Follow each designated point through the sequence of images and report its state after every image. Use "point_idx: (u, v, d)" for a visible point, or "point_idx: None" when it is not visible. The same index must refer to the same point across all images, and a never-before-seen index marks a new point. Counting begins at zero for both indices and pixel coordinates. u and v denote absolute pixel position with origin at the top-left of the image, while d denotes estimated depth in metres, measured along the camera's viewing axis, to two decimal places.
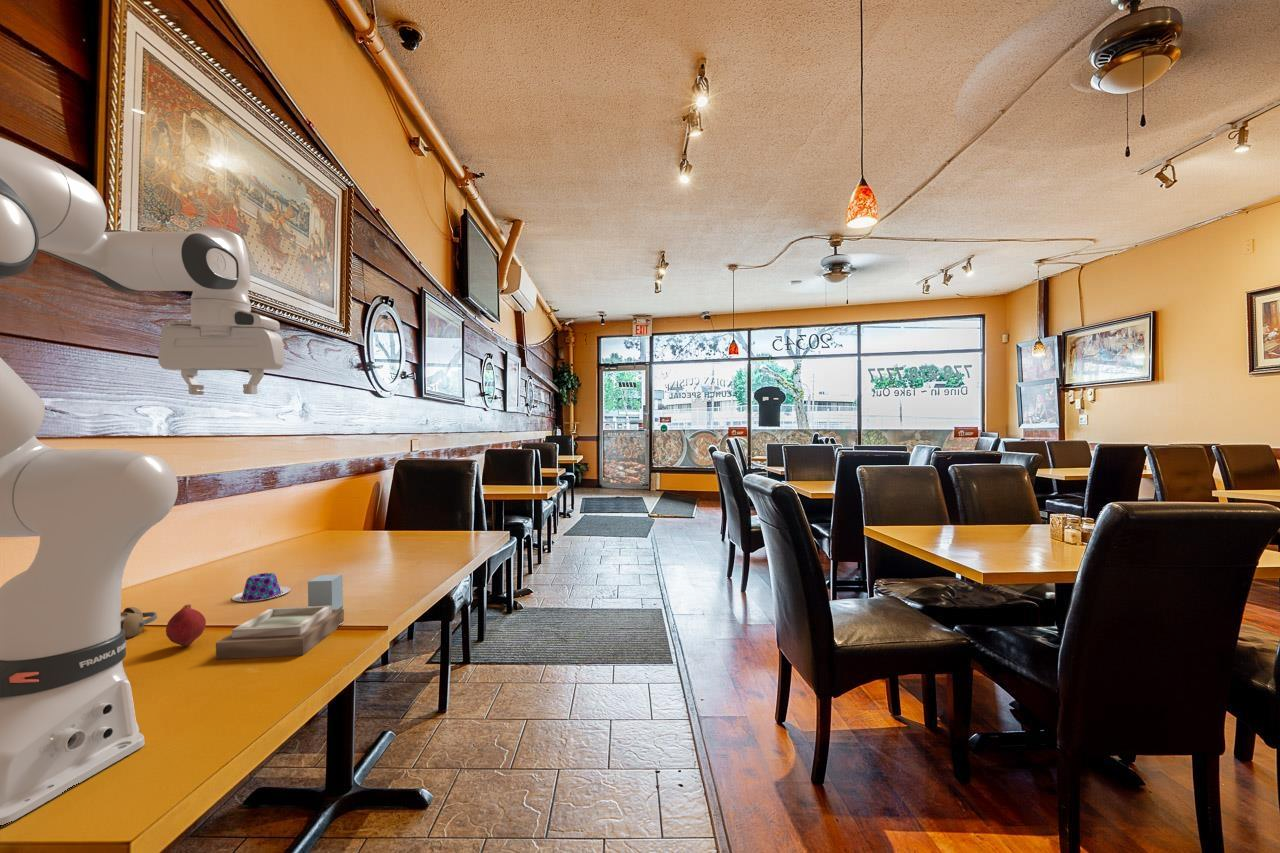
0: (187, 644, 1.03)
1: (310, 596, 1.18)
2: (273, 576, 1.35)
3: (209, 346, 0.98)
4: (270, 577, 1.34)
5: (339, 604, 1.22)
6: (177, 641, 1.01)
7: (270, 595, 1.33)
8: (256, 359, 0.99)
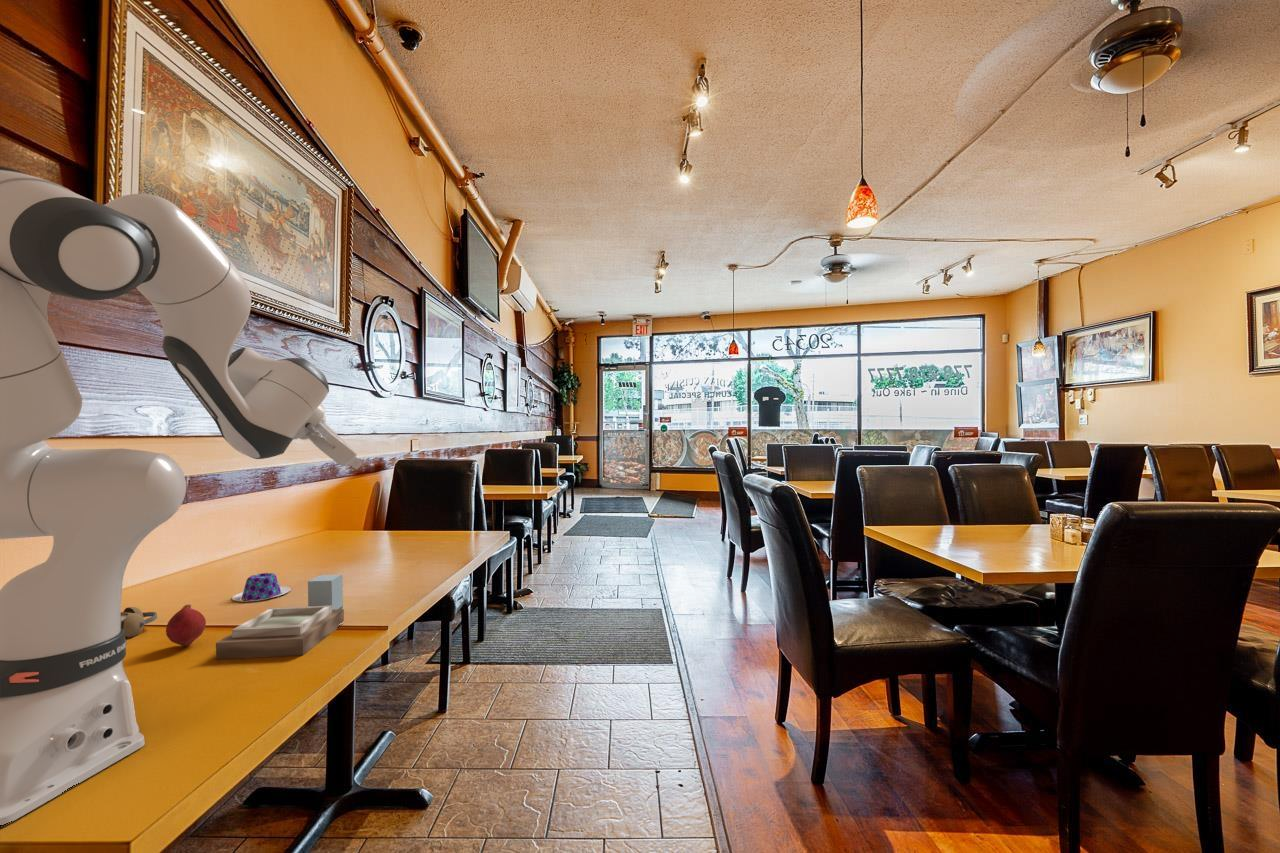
0: (187, 644, 1.03)
1: (310, 596, 1.18)
2: (273, 576, 1.35)
3: (327, 429, 1.09)
4: (270, 577, 1.34)
5: (339, 604, 1.22)
6: (177, 641, 1.01)
7: (269, 595, 1.33)
8: None
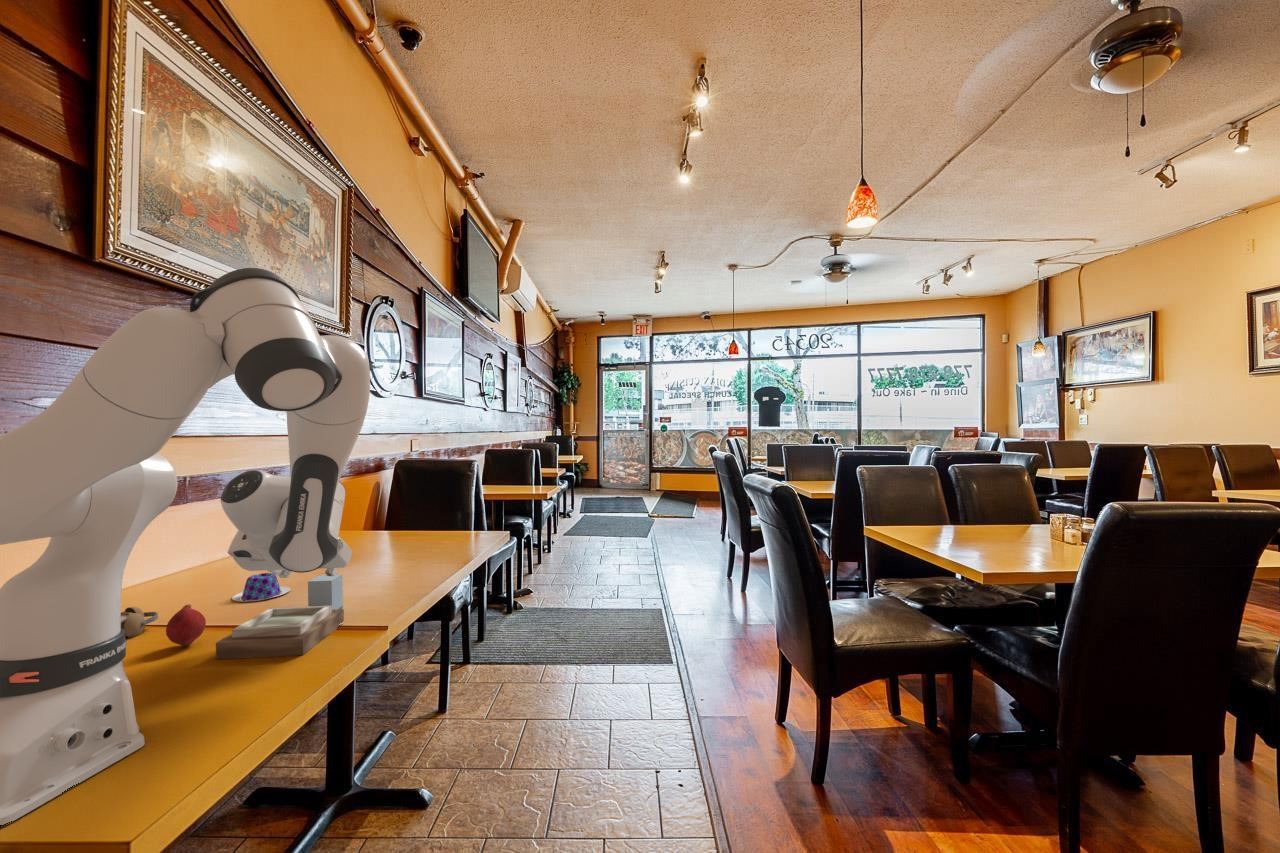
0: (187, 644, 1.03)
1: (310, 596, 1.18)
2: (272, 576, 1.35)
3: None
4: (269, 577, 1.34)
5: (339, 604, 1.22)
6: (177, 641, 1.01)
7: (268, 595, 1.33)
8: None
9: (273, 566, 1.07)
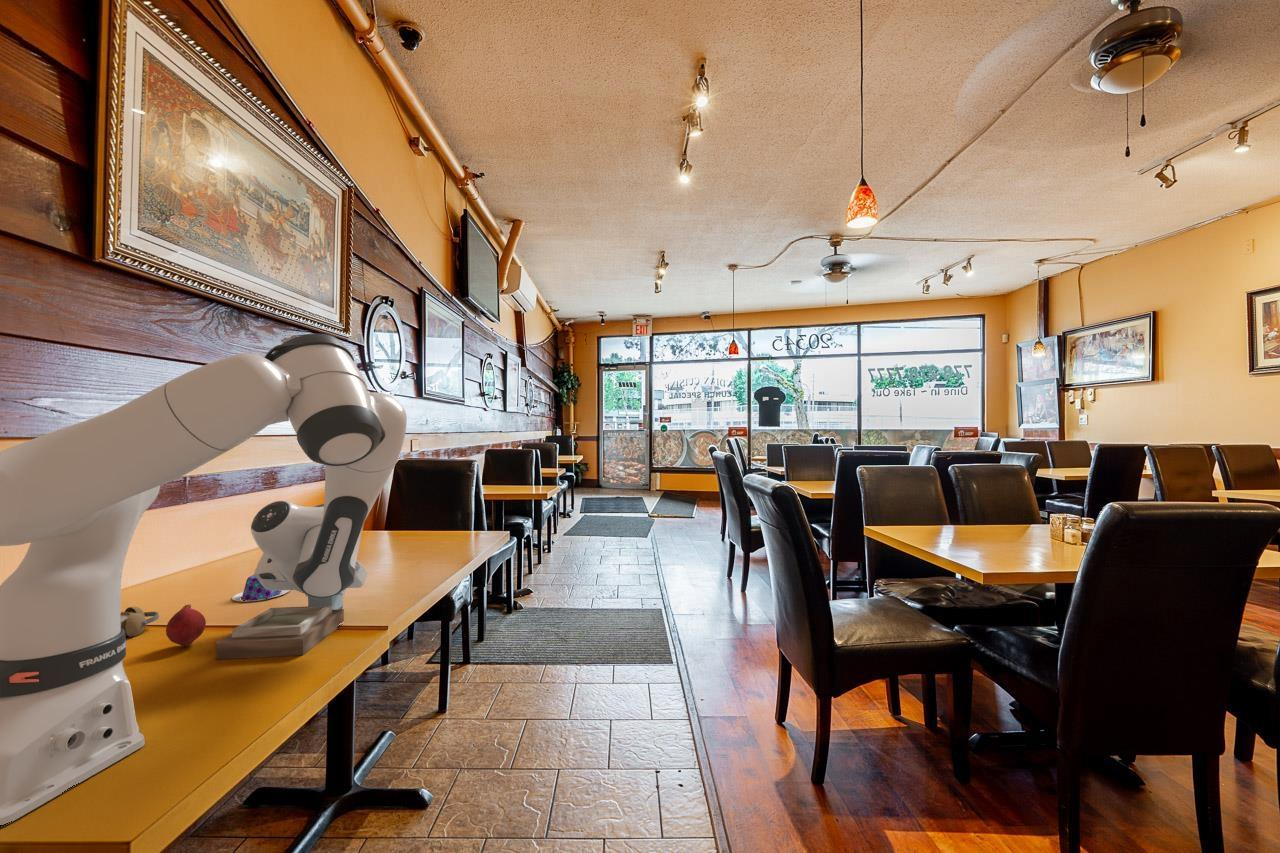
0: (187, 644, 1.03)
1: (310, 596, 1.18)
2: None
3: None
4: None
5: (339, 604, 1.22)
6: (177, 641, 1.01)
7: (266, 596, 1.32)
8: None
9: (294, 586, 1.15)
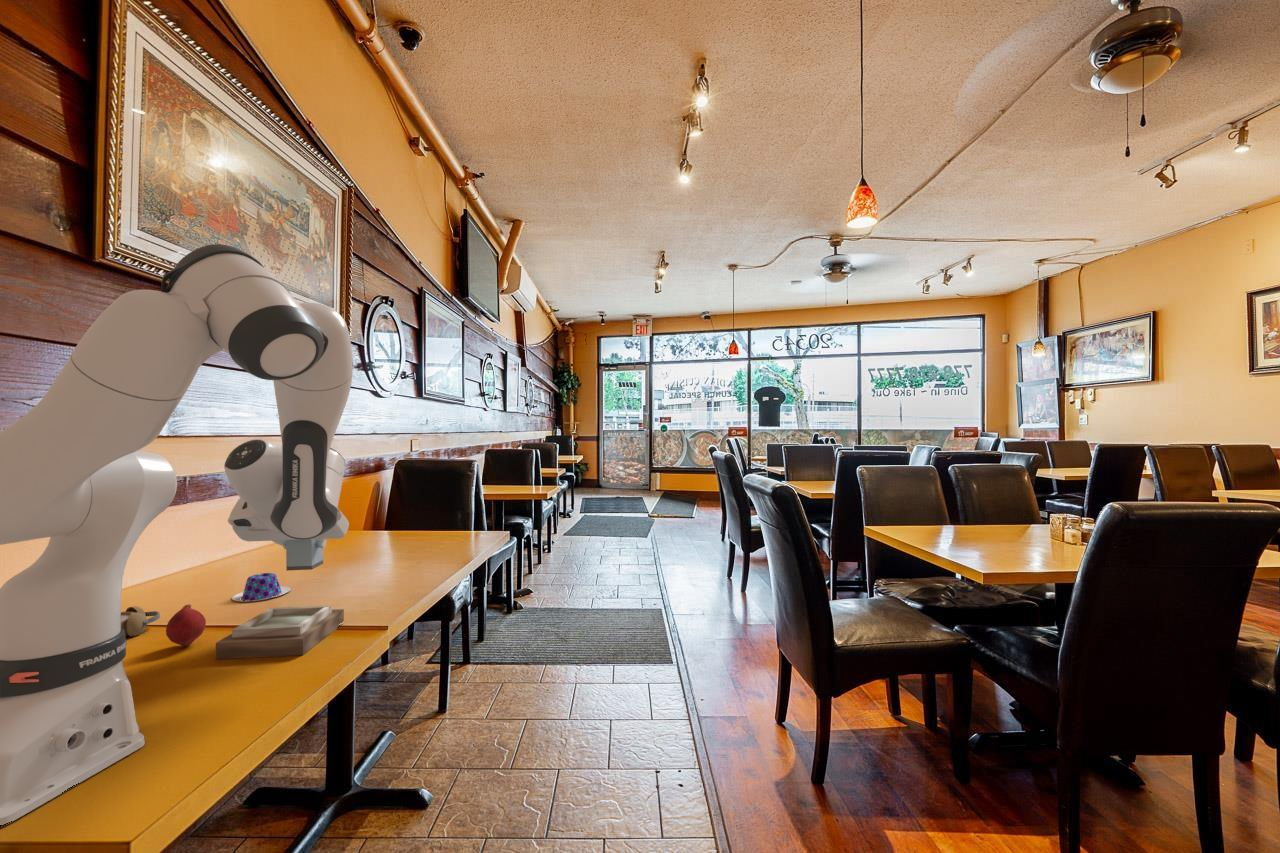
0: (187, 644, 1.03)
1: (288, 547, 1.12)
2: (270, 577, 1.34)
3: None
4: (266, 578, 1.33)
5: (319, 558, 1.16)
6: (177, 641, 1.01)
7: (264, 596, 1.32)
8: None
9: (271, 536, 1.10)
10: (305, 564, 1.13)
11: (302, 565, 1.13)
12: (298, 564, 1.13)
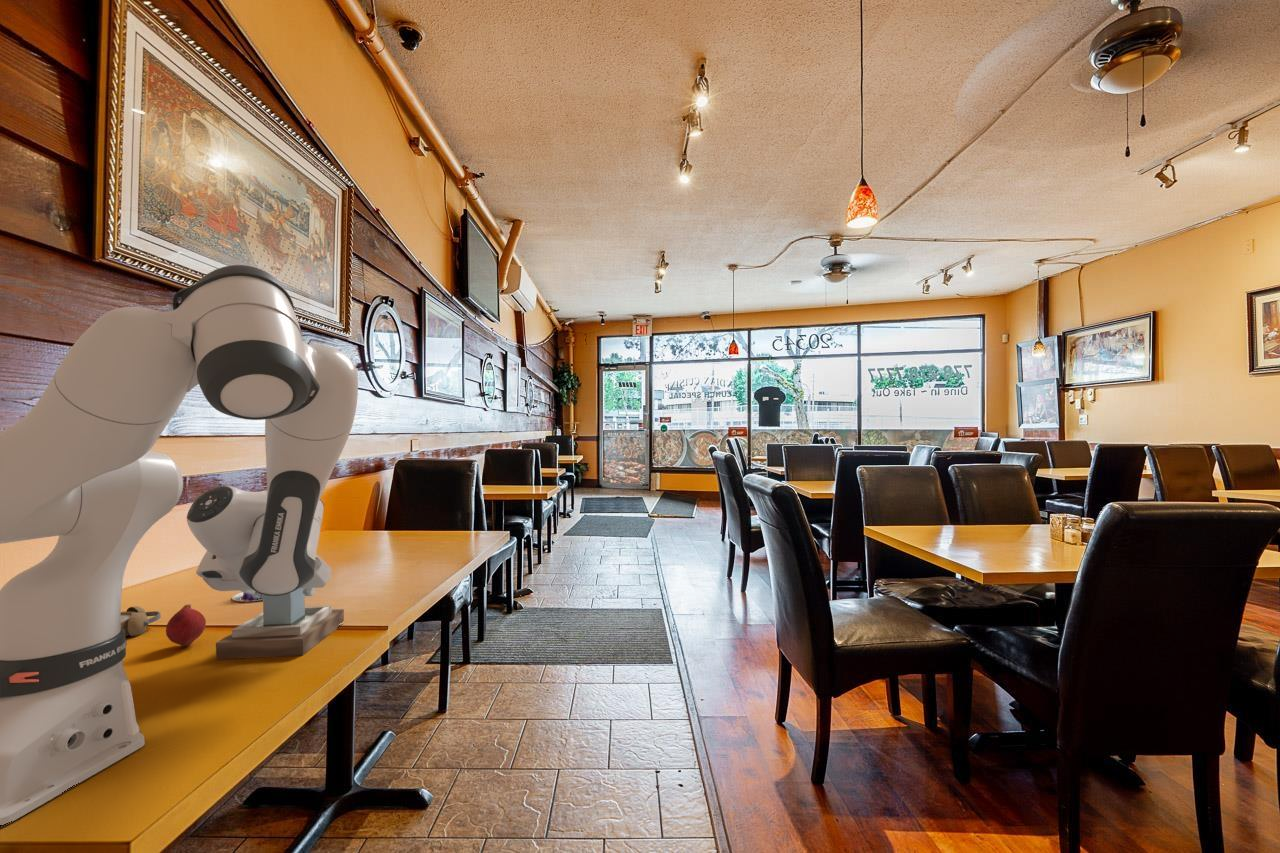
0: (187, 644, 1.03)
1: (265, 604, 1.03)
2: None
3: None
4: None
5: (300, 613, 1.07)
6: (177, 641, 1.01)
7: None
8: None
9: (246, 586, 1.00)
10: (284, 622, 1.03)
11: (280, 623, 1.03)
12: (276, 622, 1.03)
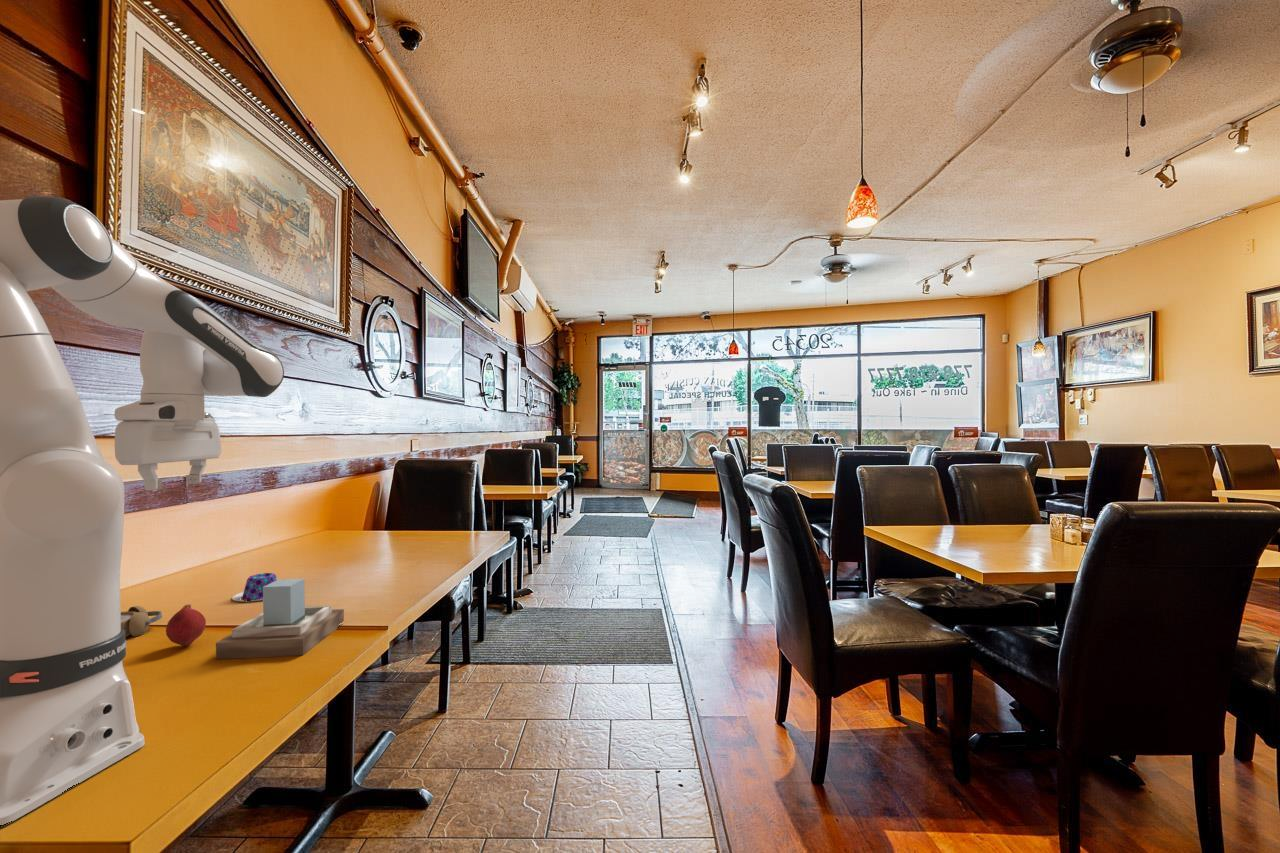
0: (187, 644, 1.03)
1: (265, 604, 1.03)
2: (268, 578, 1.34)
3: None
4: (263, 578, 1.33)
5: (300, 613, 1.07)
6: (177, 641, 1.01)
7: (259, 597, 1.31)
8: None
9: (168, 452, 0.95)
10: (284, 622, 1.03)
11: (280, 623, 1.03)
12: (276, 622, 1.03)
